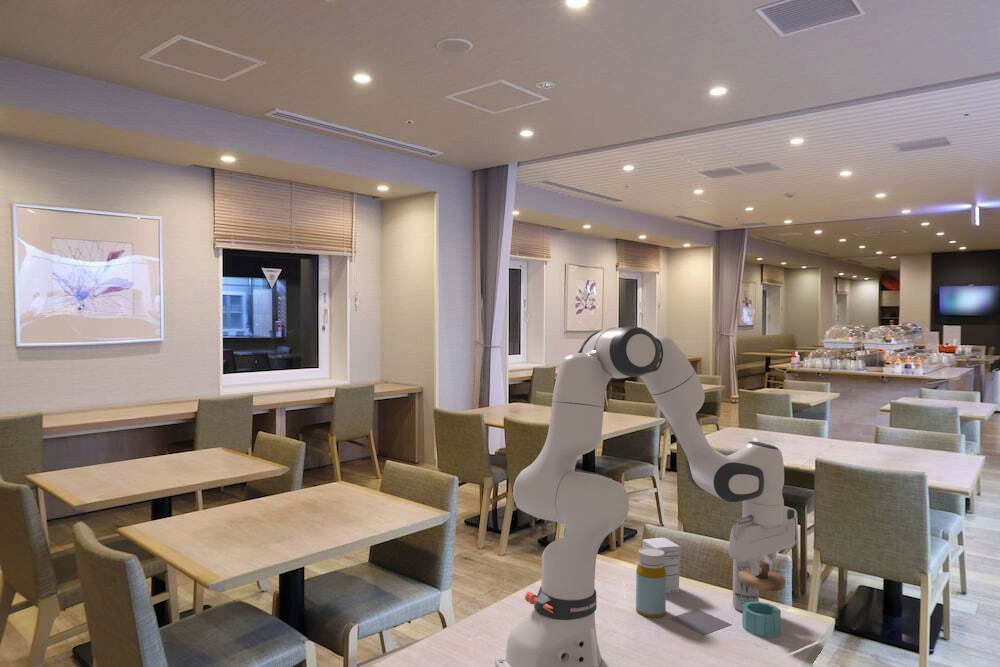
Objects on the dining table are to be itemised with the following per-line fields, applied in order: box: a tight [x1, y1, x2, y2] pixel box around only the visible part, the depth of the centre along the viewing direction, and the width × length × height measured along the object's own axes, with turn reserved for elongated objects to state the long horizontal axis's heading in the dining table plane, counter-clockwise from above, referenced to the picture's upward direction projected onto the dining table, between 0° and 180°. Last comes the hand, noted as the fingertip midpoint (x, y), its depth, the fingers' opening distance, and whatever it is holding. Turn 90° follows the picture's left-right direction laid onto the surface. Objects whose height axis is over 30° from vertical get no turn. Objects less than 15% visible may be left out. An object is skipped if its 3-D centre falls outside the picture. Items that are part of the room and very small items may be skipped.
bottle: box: [635, 547, 667, 619], centre depth 157 cm, size 7×7×15 cm
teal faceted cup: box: [741, 601, 782, 638], centre depth 149 cm, size 8×8×5 cm
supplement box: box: [641, 537, 681, 594], centre depth 172 cm, size 7×7×13 cm
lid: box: [738, 561, 786, 592], centre depth 149 cm, size 10×10×4 cm
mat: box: [668, 608, 732, 636], centre depth 152 cm, size 10×10×1 cm
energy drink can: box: [732, 559, 760, 613], centre depth 159 cm, size 6×6×15 cm
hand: (761, 572), depth 149 cm, fingers closed on lid, 3 cm apart
